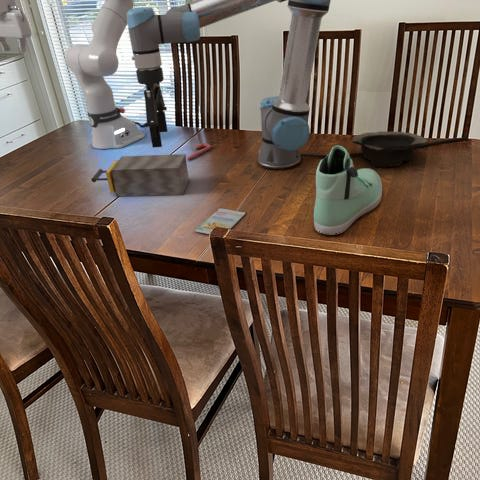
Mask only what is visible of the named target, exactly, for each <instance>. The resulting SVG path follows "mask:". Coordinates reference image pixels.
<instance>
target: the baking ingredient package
mask: <svg viewBox="0 0 480 480" xmlns="http://www.w3.org/2000/svg"><path fill="white" fill-rule="evenodd" d="M245 214H246V212H245V211H239V210H233V209H227V208H220V207H219V208H218V209H217V210H215V211H214V212H213V214H212V215H210V216H209V217H208V218H207V219H206V220H205V221H204V222H203V223H202V224H201V225H200V226H198V227H197V228H196V229H195V230H194V232H197V233H200V234H201V233H202V234H206V235H211V234H210V232H211V230H212V229H213V228H214V227H226V228H230V229H232V228H233V226H235V224H237V223H238V222H239V221H240V219H242V217H244V216H245Z"/></svg>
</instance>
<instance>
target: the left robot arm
mask: <svg viewBox="0 0 480 480" xmlns="http://www.w3.org/2000/svg"><path fill="white" fill-rule="evenodd" d="M134 7H135V3H134V0H104V2H103V4H102V5H101V7H100V9H99V11H98V13H97V15H96V17H95V19H94V20H93V22H92V24H91V31H92V33H93V34H92V39H91V42H90V43H89V44H83V43H82V44H81V43H79V44H75V45H71V46H69V47H68V48H67V49H66V51H65V53H64V62H65V64H66V67H67V68H68V69H70V71H71V72H72V73H73V75H74V76H75V79H76V80H77V82H78V84H79V86H80V88H81V90H82V93H83V97H84V100H85V104H86V109H87V118H88V122H89V125H90V127H91V128H90V129H91V137H92V138H91V140H92V141H91V147H92V148H94V149H98V150H107V149H121V148H122V149H123V148H124V147H127V146H128V145H131V144H132V143H135V142H137V141H139V140H141V139H143V138H145V137H146V135H145V133H144V132H142V131H140V130H139V129H138V127H140V128H145V127H146V124H147V121H146V122H145V123H143V124H141V123H140V122H138V121H134V120H131V119H129V118H127V117H125V116H123V115H122V114H125V112H126V109H125V108H124V107H123V108H122V107H117V106H116V103H115V97H114V94H113V89H112V87H111V86H110V85H109V84H108V82H107V81H106V79H105V78H106V77H109V76H113V75H115V74H116V72H117V71H118V69H119V58H118V55H117V49H118V46H119V42H120V39H121V38H122V35H123V33H124V32H125V30H126V29H127V28H126V27H128V22H127V12H128V11H129V10H130V9H134ZM31 37H32V30H31V26H30V24H29V20H28V18H27V15H26V14H25V13H24V12H23V10H22V9H21V8H20V6H18V5H17V2H16V0H0V46H1V48H2V51H3V52H10V51H11V47H10V45H9V44H8V42H7V41H6V38H9V39H16V40H17V42H18V46H17V50H18V52H19V53H22V54H24V53H27V48H26V44H27V40H26V39H27V38H28V39H29V38H31ZM104 77H105V78H104Z"/></svg>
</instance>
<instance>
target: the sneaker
mask: <svg viewBox="0 0 480 480" xmlns="http://www.w3.org/2000/svg"><path fill="white" fill-rule="evenodd" d="M349 153H350V152H348V150H347V148H345V147H344V146H342V145H334V146H333V147H331V149H330V151H329V155H327V154H326V155H327V156H326V157H323V158H322V159H321V160H320V161H319V163H318V164H317V165H318V166H317V168H316V172H315V201H314V207H313V225H314V229H315V231H316V232H318V233H320V234H323V235H326V236H327V235H328V236H336V235H339V234H342V233H344V232H345V231H347V230H348V229H349V228H350V227H351V226H352V225H353V224H354V222H356V221H357V220H358V219H359V218H360V217H362V216H363V215H365V214H367V213H370V212H372V210H374V209H375V208H377V207H378V205H380V203H381V200H382V196H383V184H382V183H383V182H382V179H381V176H380V175H379V173H378V172H377V171H376V170H374V169H372V168H367V167H365V168H358V169H357V168H355V167H354V161H353V159H352V158H351V156H349ZM343 230H344V231H343ZM319 231H320V232H319ZM322 232H323V233H322ZM339 232H340V233H339ZM326 233H327V234H326ZM328 233H329V234H328ZM335 233H337V234H335Z"/></svg>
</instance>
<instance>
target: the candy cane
mask: <svg viewBox="0 0 480 480" xmlns="http://www.w3.org/2000/svg"><path fill="white" fill-rule="evenodd" d="M201 148H202V149H201ZM195 149H196V150H198V151H196V152H194V153H192V154H190V155H187V156H186V160H188V161H191V160H193V159H195V158H197V157H198V156H200V155H202V154H204V153H205V152H208V151H209V150H210V149H212V145H211V144H209V143H199V144H197V145H196V146H195ZM199 149H200V150H199Z"/></svg>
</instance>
